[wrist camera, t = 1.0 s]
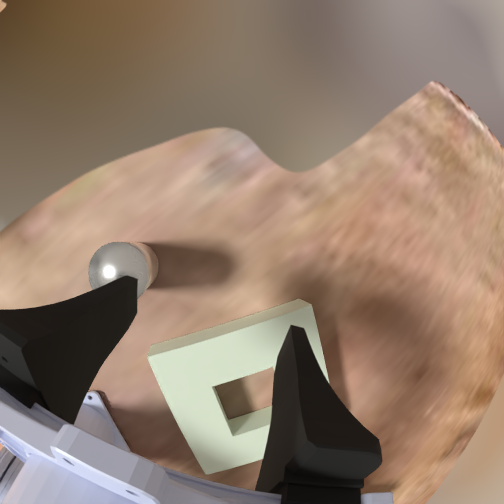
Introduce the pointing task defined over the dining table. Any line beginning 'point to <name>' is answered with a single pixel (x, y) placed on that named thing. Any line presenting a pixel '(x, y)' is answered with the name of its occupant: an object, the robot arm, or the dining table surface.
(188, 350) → the socket block
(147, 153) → the dining table surface
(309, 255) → the dining table surface
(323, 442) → the robot arm
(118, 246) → the peg
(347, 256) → the dining table surface
